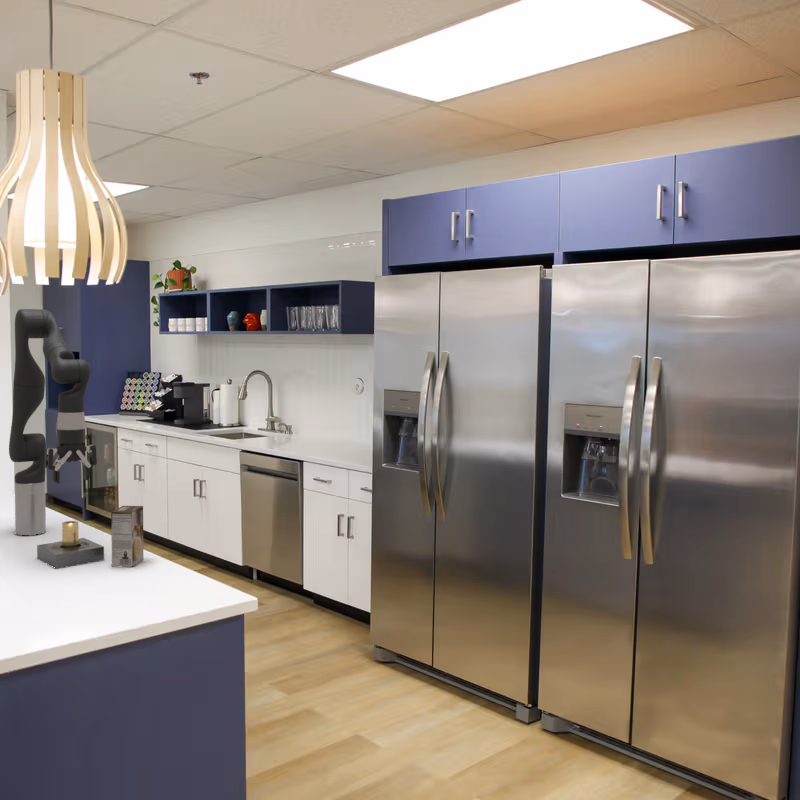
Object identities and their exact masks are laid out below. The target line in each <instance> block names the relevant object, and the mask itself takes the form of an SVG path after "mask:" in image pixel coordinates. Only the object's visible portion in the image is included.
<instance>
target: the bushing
mask: <svg viewBox="0 0 800 800" xmlns="http://www.w3.org/2000/svg"><path fill="white" fill-rule="evenodd" d="M61 524H62V525H61V529H62V530H61V531H62V534H61V536H62V537H61V538H62V539H61V541H62V548H65V549H68V548H77V547H79V539H80V538H79V521H77V520H67V521H64V522H63V521H62V523H61Z"/></svg>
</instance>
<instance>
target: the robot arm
mask: <svg viewBox="0 0 800 800" xmlns="http://www.w3.org/2000/svg"><path fill="white" fill-rule="evenodd" d="M29 339H45V340H44V343H43V345H42V352H43V354H44V355H43V356H44V357H45V358H46V360H47V361H48V363H49V365H50V368H51V370H50V371H51V377H52V379H53V381H55V382H56V383H58V384H63V385H64V384H74V385H73V387H72V388H71V389H69V390H67V391H62V392H60V393H58V396H57V399H58V400H57V401H58V402H57V403H58V406H57V409H58V410H57V412H58V413H57V423H56V424H57V427H56V428H57V429H56V431H57V433H56V434H57V437H56V438H57V447H56V448H51V447H47V440H46V437H45V435H44V434H43V433H41V432H40V433H39V432H37V433H24V431H25V428H26V425H27V423H28V422H29V419H30V418H31V416H32V415H33V414H34V413H35V412H36V411H37V409H38V408H39V407H40V405H41V403H43V400H44V397H45V388H46V378H45V375H44V373H43V370H42V369H41V368H40V366H39V364H38V363H37V361H36V360H35V359H34V357H33V354H32V352H31V350H30V347H29V346H30V345H29ZM14 345H15V346H14V347H15V348H14V350H15V355H14V356H15V359H14V360H15V361H14V375H13V384H12V386H13V387H12V417H11V418H12V419H11V425H10V433H9V434H10V435H9V442H8V443H9V444H8V455H9V458H10V460H11V462H14V463H27V462H32V464H31V465H30V466H29V467H27V468H25V469H23V470H21V471H19V472H17V473H15V474H14V512H15V513H14V521H15V522H14V523H15V525H14V527H15V529H14V532H15V533H16V534H15V535H17V534H18V535H17V536H22V535H29V536H36V534H38V535H42V534H44V533H46V530H47V527H46V526H47V524H46V519H47V518H46V515H47V514H46V510H47V509H46V469H48V470H51V471H52V472H51V473H52V474H51V475H52V478H51V479H52V481H53V482H54V483H55V484H60V478H61V477H60V473H61V472H60V468H62V466H63V465H64V464H65V463H66V462H67V463H71V462H78V461H79V462H80V463H81V464H82V465H83V468H82V475H83V476H82V478H83V481H89V479H90V478H91V467H93V466H96V465H97V462H98V460H97V447H96V445H94V444H89V445H86V444H85V443H86V417H85V396H86V391H87V387H88V385H89V384H88V383H89V381H90V377H91V366H90V363H88V361H86V360H84V359H80V358H79V359H75V355H74V353H73V351H72V349H71V348H69V346H68V345H67V343H66V342H65V340H64V337H63V335H62V332H61V331H60V327H59V325H58V322H57V321H56V318H55V316H54V314H53V313H52V311H50V310H47V309H43V308H42V309H40V308H39V309H36V308H20V309H17V312H16V314H15V317H14ZM86 451H87V453H88V456H89V457H88V458H89V459H87V458H86V456H85V455H84V454H85V453H86ZM56 454H57V455H58V456H57V457H56V459H55V461H54V457H55V455H56ZM41 533H42V534H41Z"/></svg>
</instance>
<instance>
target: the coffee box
mask: <svg viewBox="0 0 800 800" xmlns="http://www.w3.org/2000/svg"><path fill="white" fill-rule="evenodd" d="M110 516H111V517H110V518H111V522H110V524H111V531H110V532H111V566H112V567H114V566H126V567H125V568H127V567H128V568H133V567H134V566H136V565H137V564H138V563H140V562H141V561H142V560H143V559H144V506H143V505H122V506H120V507H118V508H116V509H114V510H112V511H111V512H110ZM132 566H133V567H132Z"/></svg>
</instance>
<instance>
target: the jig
mask: <svg viewBox="0 0 800 800" xmlns="http://www.w3.org/2000/svg"><path fill="white" fill-rule="evenodd" d="M36 554H37V555H36V556H37V557H36V558H38V560H39V559H40V561H41V562H43V563H45V564H46V563H47V564H46V565H48V564H49V565H48V566H50V565H51V567H52V566H53V567H52V568H54V567H55V568H54V569H56V568H57V569H62V568H61V567H63V568H66V566H68V567H73V566H72V565H74V566H78V565H77V564H79V565H84V564H83V563H85V564H89V563H88V562H90V563H95V562H94V561H96V562H100V561H99V560H102V561H105V546H103V545H102V544H99V543H96V542H94V541H92V540H90V539H88V538H85V537H82V538H81V537H80V538H79V547H77V548H68V549H65V548H62V540H60V541H55V542H49V543H48V542H47V543H42V544H37V545H36Z"/></svg>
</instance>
